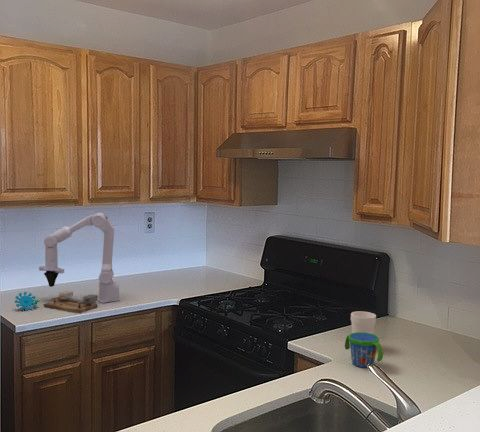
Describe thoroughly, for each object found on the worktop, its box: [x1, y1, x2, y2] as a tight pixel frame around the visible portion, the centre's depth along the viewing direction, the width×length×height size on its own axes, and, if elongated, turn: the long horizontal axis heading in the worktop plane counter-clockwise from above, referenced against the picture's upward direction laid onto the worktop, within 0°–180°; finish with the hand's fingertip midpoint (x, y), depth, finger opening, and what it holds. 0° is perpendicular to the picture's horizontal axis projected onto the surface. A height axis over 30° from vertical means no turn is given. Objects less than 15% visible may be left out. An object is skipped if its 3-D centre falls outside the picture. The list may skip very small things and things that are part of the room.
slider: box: [52, 290, 74, 303], centre depth 259 cm, size 11×4×4 cm, turn 155°
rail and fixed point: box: [56, 294, 98, 307], centre depth 257 cm, size 11×21×4 cm, turn 65°
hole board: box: [43, 299, 98, 314], centre depth 256 cm, size 12×22×2 cm, turn 65°
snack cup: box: [344, 332, 384, 368], centre depth 191 cm, size 16×10×10 cm
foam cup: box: [350, 310, 377, 334], centre depth 208 cm, size 10×9×13 cm
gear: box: [14, 291, 40, 312], centre depth 253 cm, size 11×6×10 cm
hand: (51, 286), depth 265 cm, fingers closed
